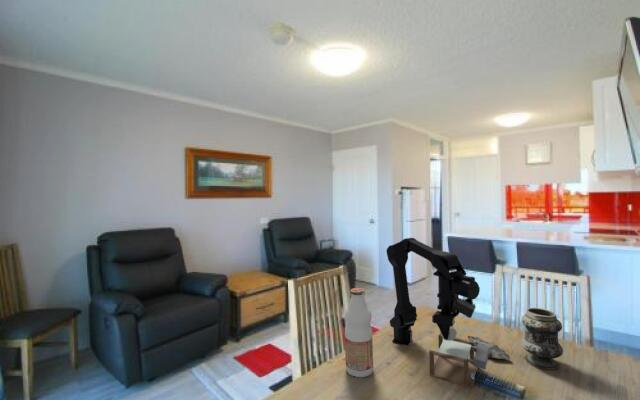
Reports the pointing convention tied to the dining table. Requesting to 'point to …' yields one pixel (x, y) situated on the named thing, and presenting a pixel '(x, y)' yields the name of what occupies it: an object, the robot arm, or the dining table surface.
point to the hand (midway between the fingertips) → (448, 335)
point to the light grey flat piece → (466, 352)
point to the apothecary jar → (541, 338)
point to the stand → (453, 365)
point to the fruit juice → (358, 336)
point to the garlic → (450, 334)
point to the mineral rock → (490, 348)
